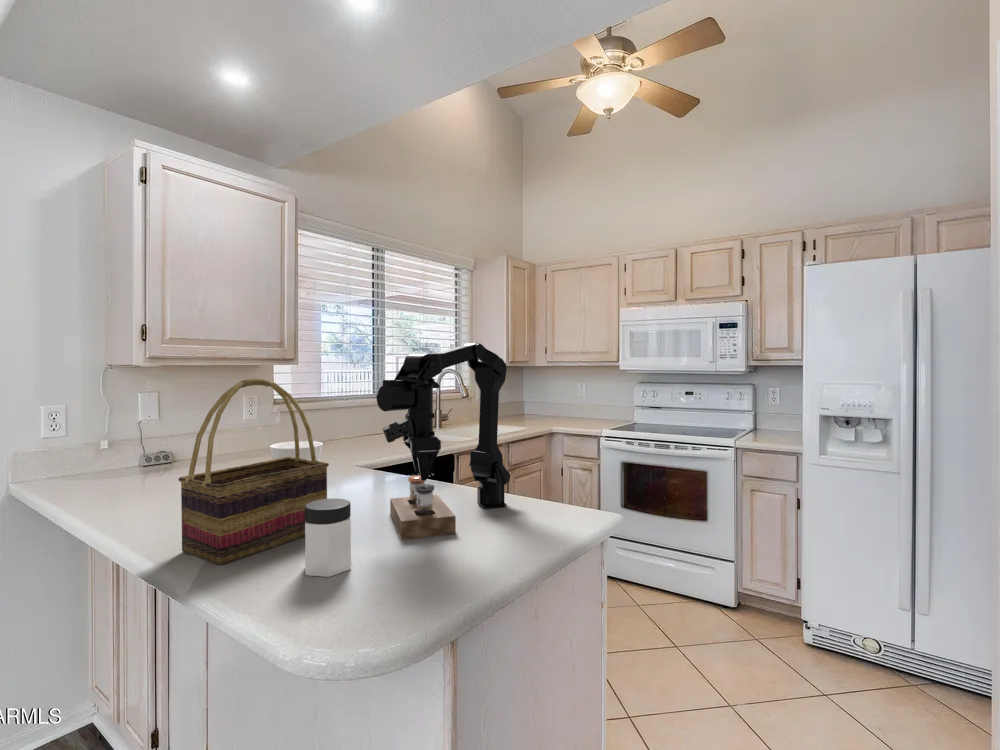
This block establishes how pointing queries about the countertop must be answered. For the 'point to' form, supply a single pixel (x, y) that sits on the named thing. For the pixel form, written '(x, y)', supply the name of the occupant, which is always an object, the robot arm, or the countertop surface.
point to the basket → (248, 495)
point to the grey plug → (424, 499)
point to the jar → (327, 537)
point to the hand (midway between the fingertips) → (420, 476)
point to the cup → (289, 450)
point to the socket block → (421, 519)
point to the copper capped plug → (413, 482)
